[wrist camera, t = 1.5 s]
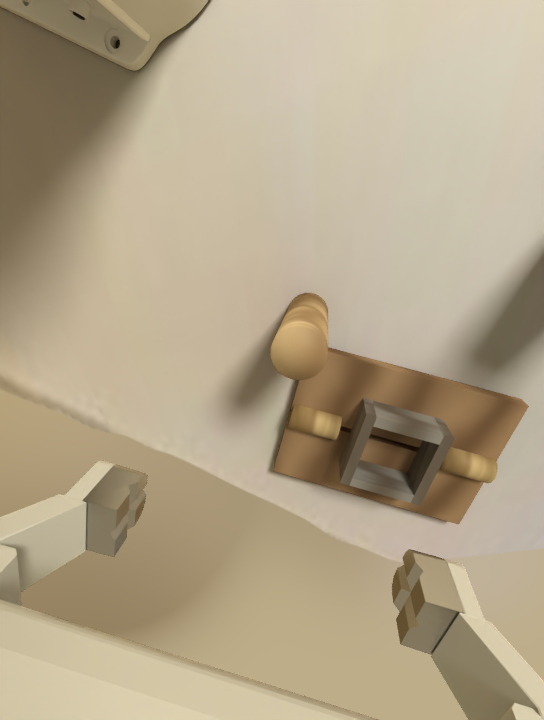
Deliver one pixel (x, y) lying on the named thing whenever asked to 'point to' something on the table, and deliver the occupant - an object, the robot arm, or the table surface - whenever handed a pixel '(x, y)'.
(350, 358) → the wooden socket board
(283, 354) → the pin
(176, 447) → the table surface
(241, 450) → the table surface
